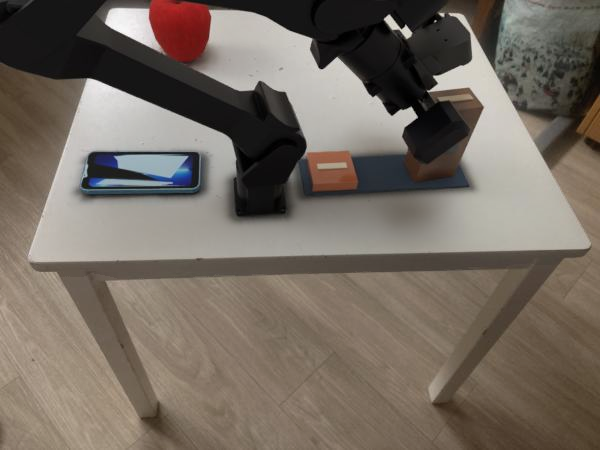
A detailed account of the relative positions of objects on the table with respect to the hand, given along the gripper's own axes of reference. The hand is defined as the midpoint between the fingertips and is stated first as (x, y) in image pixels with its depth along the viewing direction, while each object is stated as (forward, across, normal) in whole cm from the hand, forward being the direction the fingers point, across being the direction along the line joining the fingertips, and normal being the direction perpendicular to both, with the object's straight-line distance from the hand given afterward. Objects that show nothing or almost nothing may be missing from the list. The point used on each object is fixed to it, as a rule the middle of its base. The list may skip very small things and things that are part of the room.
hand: (440, 126), depth 62 cm
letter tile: (-4, +2, +15) cm, 16 cm away
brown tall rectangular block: (+6, 0, +5) cm, 8 cm away
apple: (-15, +34, +27) cm, 46 cm away
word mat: (+2, +1, +10) cm, 10 cm away
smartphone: (-21, +7, +33) cm, 39 cm away
